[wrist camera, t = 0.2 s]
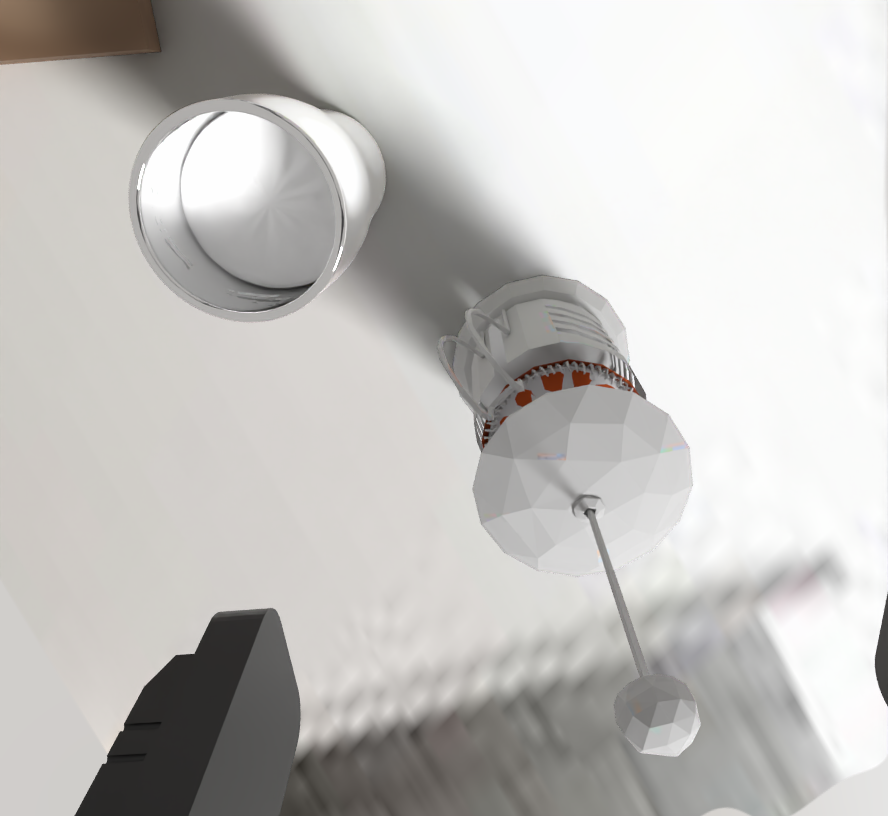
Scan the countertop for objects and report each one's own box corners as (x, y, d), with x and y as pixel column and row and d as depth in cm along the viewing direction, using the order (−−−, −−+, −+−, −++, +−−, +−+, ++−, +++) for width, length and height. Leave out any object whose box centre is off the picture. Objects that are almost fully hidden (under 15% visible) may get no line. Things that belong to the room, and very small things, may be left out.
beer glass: (410, 227, 35) (379, 302, 21) (282, 259, 36) (173, 350, 22) (373, 82, 33) (312, 61, 19) (236, 119, 33) (80, 124, 20)
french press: (538, 472, 41) (642, 936, 18) (392, 345, 38) (291, 707, 15) (666, 359, 38) (989, 741, 15) (518, 211, 35) (638, 405, 12)
